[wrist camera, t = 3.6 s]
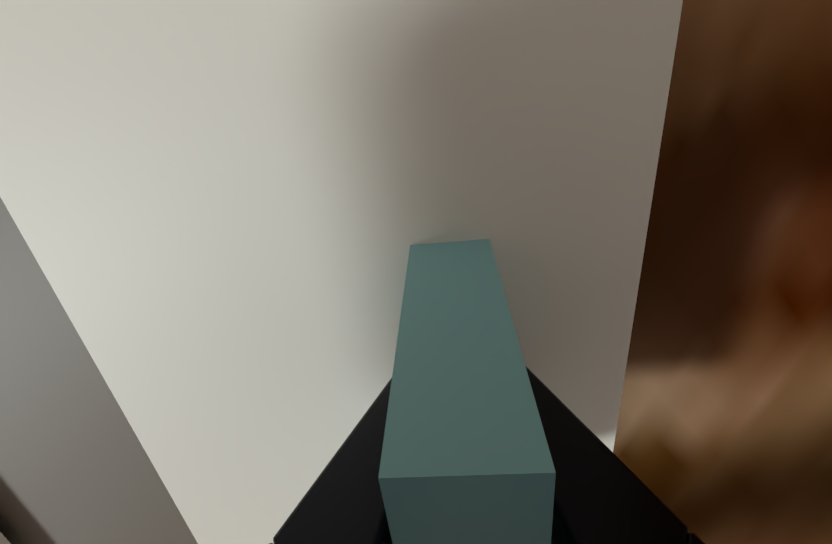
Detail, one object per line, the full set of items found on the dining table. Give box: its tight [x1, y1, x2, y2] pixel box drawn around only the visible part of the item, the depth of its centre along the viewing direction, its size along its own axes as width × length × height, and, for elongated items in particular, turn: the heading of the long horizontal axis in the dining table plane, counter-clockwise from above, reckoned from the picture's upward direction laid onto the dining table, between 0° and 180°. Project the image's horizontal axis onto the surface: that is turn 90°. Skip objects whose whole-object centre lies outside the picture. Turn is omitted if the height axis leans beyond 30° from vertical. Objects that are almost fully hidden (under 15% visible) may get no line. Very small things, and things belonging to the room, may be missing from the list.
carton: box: [0, 197, 198, 544], centre depth 12 cm, size 15×20×5 cm
